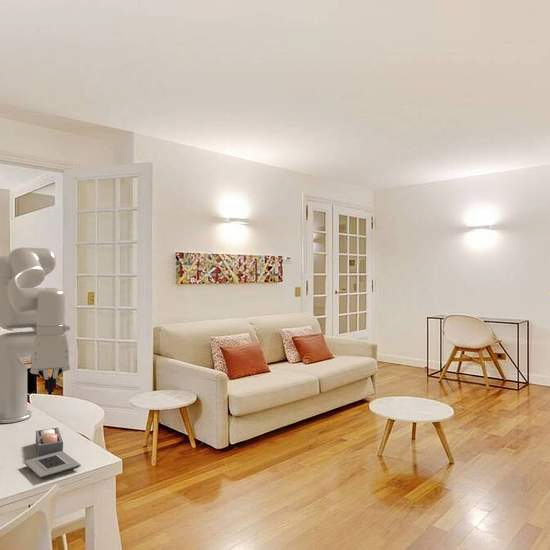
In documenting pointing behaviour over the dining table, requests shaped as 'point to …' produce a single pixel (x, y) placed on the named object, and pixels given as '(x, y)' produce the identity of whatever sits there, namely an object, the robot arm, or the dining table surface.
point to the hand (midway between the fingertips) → (50, 391)
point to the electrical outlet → (52, 464)
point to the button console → (48, 444)
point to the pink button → (49, 438)
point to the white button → (47, 432)
